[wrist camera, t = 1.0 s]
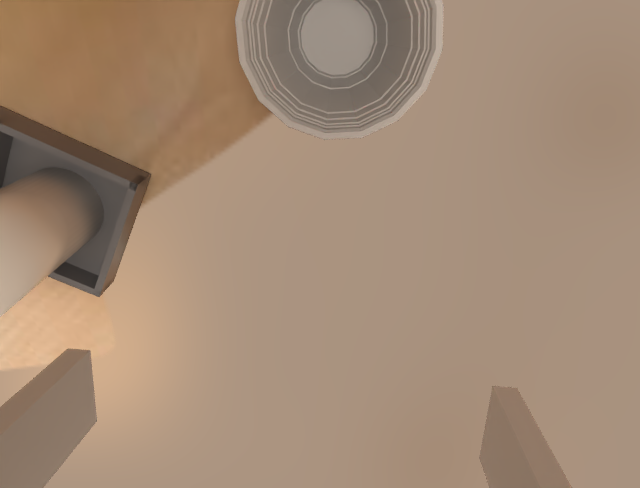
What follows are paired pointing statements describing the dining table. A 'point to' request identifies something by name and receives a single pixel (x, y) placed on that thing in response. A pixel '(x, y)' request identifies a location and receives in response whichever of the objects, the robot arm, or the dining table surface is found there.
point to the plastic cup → (339, 60)
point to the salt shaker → (43, 227)
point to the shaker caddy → (100, 171)
